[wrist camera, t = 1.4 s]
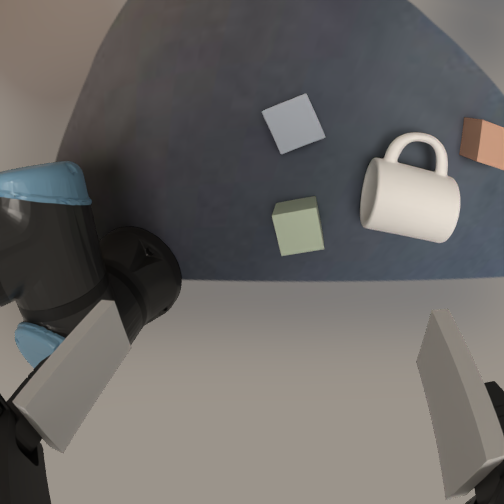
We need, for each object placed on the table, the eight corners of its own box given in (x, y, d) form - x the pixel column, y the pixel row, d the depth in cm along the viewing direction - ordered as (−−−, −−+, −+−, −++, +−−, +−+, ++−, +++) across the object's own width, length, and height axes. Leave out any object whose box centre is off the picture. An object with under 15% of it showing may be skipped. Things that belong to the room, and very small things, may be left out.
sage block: (284, 239, 41) (281, 255, 37) (276, 202, 39) (271, 215, 35) (322, 232, 40) (324, 249, 35) (315, 195, 38) (316, 207, 33)
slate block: (284, 149, 36) (281, 154, 32) (267, 111, 34) (261, 111, 30) (323, 134, 35) (325, 137, 30) (306, 95, 33) (306, 93, 28)
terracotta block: (459, 154, 32) (476, 161, 27) (463, 117, 30) (482, 119, 25) (488, 163, 31) (507, 171, 27) (493, 127, 29) (513, 131, 25)
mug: (425, 228, 37) (447, 254, 30) (356, 214, 38) (366, 238, 31) (446, 140, 31) (475, 149, 24) (373, 120, 33) (390, 123, 26)
